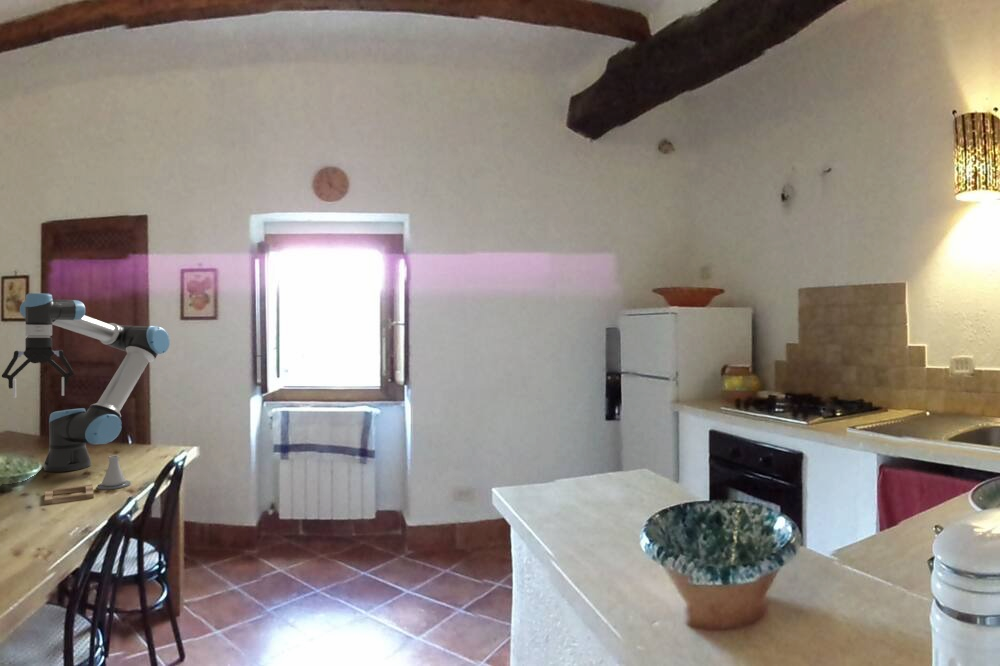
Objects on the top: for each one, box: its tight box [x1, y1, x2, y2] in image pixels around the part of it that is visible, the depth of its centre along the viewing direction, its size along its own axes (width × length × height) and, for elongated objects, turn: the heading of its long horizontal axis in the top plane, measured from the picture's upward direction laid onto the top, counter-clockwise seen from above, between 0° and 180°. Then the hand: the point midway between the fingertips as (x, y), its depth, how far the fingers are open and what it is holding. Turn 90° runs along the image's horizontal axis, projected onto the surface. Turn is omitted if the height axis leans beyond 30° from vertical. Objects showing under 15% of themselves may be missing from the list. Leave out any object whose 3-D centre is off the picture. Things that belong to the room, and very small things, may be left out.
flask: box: [100, 455, 128, 486], centre depth 212 cm, size 7×7×10 cm
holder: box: [44, 484, 95, 506], centre depth 199 cm, size 13×13×2 cm
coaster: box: [96, 479, 132, 491], centre depth 212 cm, size 10×10×1 cm
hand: (39, 396), depth 210 cm, fingers open, 13 cm apart
